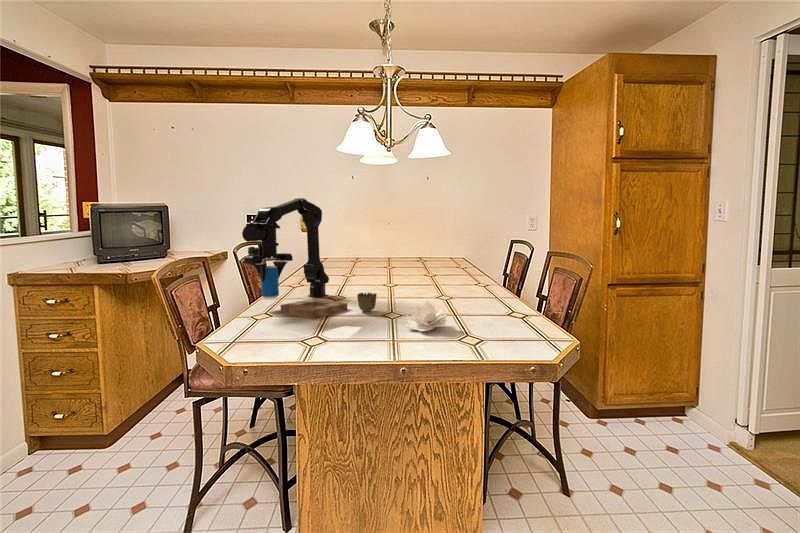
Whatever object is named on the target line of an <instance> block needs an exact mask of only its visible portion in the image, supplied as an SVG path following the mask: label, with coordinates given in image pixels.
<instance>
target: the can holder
mask: <svg viewBox="0 0 800 533" xmlns="http://www.w3.org/2000/svg"><path fill="white" fill-rule="evenodd" d="M347 310H348V303H347V302H341V301H335V300H329V299H323V298H316V297H314V298H310V299H305V300H300V301H294V302H289V303H285V304H284V303H283V304H280V313H281V314H285V315H289V316H290V315H291V316H295V317H300V318H303V317H304V319H308V320H312V321H313V320H317V318H318V319H320V318H323V317H327V316H330V315H333V314H337V313H341V312H344V311H347Z"/></svg>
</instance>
